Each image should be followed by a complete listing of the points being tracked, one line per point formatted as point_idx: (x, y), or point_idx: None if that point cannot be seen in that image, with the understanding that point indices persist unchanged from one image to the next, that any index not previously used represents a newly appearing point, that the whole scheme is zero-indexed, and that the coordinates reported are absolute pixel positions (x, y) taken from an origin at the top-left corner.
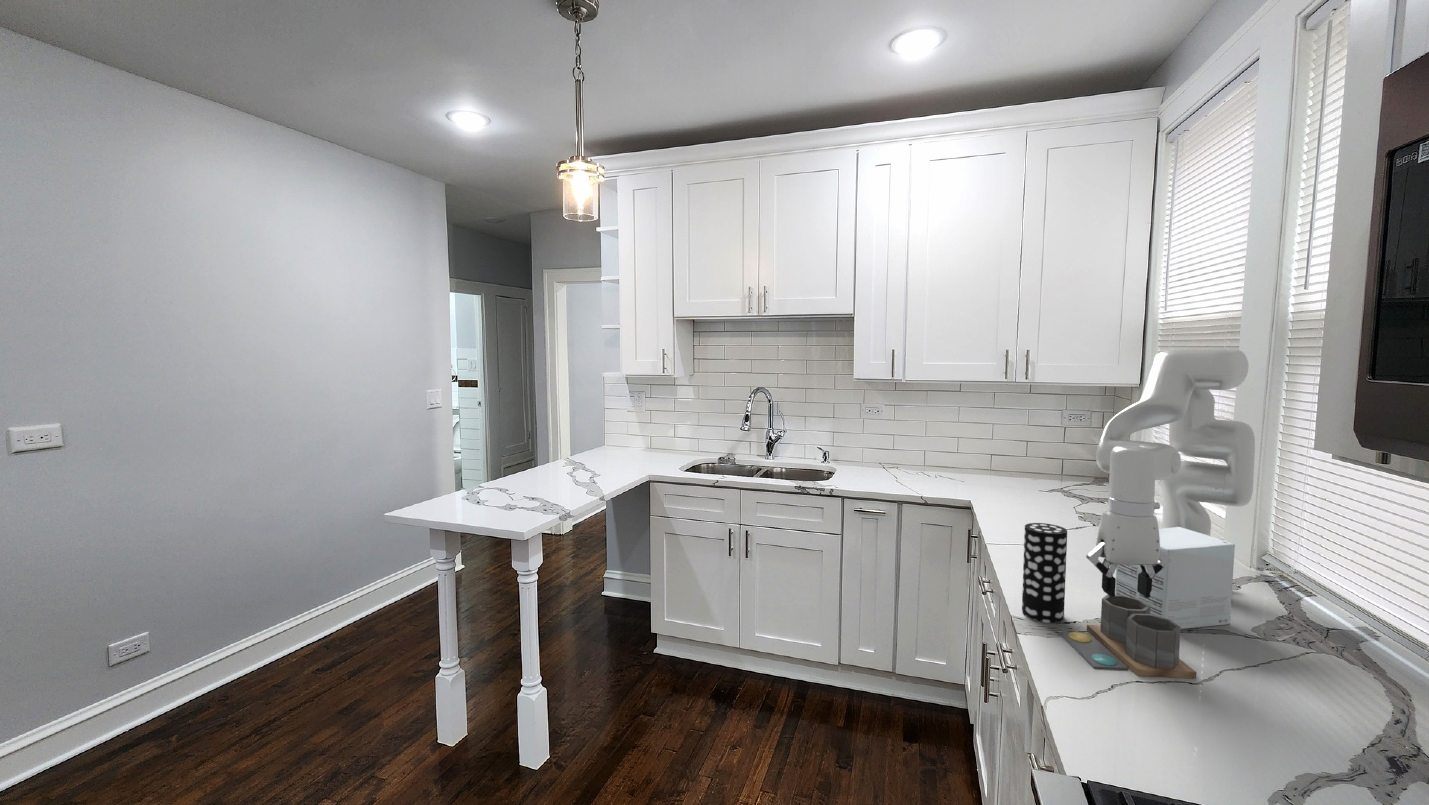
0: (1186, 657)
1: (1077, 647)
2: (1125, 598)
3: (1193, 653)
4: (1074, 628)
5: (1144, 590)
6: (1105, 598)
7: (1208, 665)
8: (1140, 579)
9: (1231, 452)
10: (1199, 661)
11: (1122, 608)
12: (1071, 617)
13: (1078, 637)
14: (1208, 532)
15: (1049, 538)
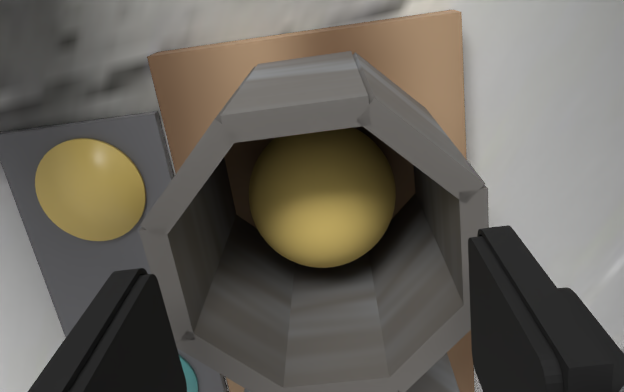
0: (547, 267)
1: (62, 296)
2: (374, 133)
3: (612, 221)
4: (92, 39)
5: (488, 380)
6: (172, 215)
7: (597, 320)
8: (520, 382)
9: None
10: (582, 293)
11: (245, 385)
12: None
13: (80, 202)
14: None
15: None
